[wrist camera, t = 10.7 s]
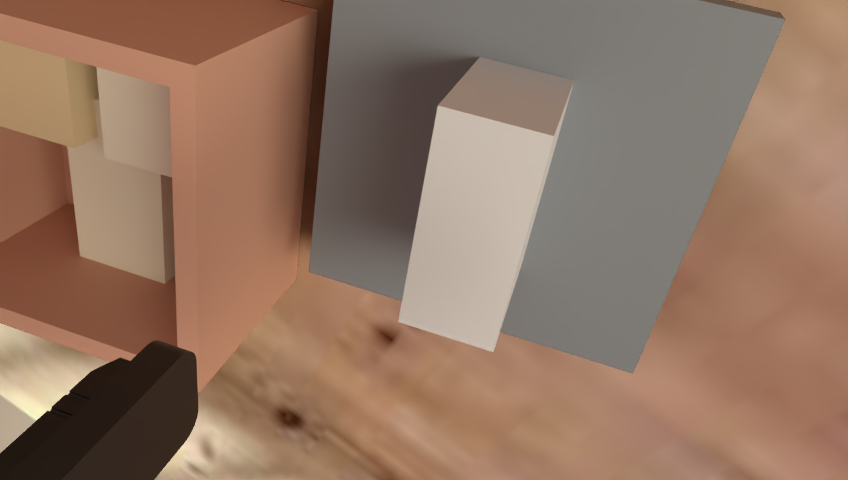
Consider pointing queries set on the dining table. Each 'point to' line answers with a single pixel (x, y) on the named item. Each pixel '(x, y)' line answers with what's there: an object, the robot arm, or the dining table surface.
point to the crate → (151, 170)
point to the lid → (528, 159)
